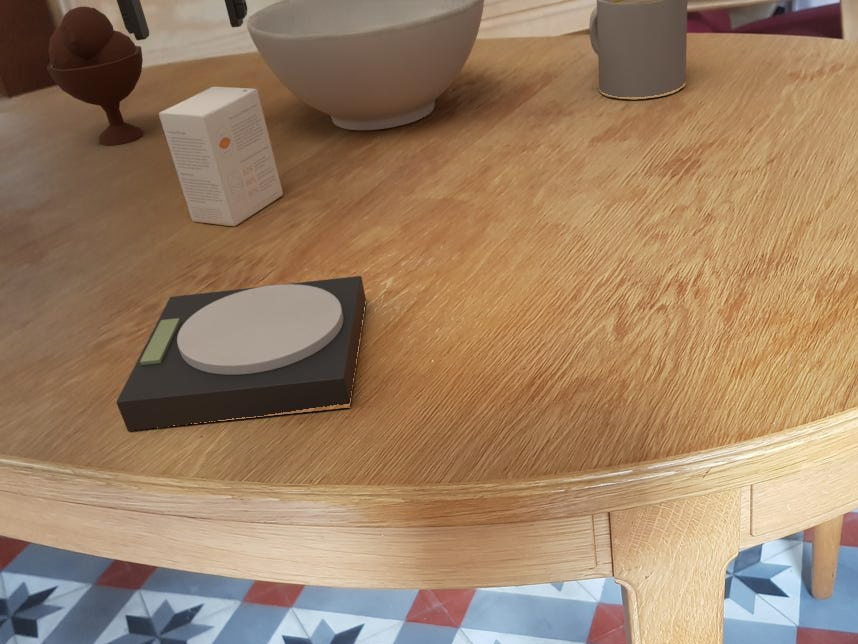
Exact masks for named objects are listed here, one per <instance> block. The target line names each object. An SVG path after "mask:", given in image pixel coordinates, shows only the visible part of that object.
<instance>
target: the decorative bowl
mask: <svg viewBox="0 0 858 644" xmlns="http://www.w3.org/2000/svg"><path fill="white" fill-rule="evenodd" d="M484 7H485V0H280V1H277V2H274V3H272V4H269V5H267V6H264V7H263V8H261V9H260V10H257V11H256V12H254V13H253V14H252V15H251V16H250V17H249V18H248V20H247V21H246V28H247V31H248V34H249V36H250V38H251V40H252V43H253V44H254V46H255V47H256V49H257V51H258V53H259V55H260V56H261V58H262V59H263V61H264V63H265V64H266V65H267V67H268V68H269V69H270V70H271V72H272V73H273V74H274V75H275V77H276V78H277V79H278V80H279V81H280V82H281V83H282V85H283V86H285V87H286V89H287V90H288V91H290V93H292V94H293V95H294V96H296V98H298V99H299V100H300V101H302V102H303V103H305V104H306V105H308V106H310V107H311V108H313V109H315V110H317V111H319V112H322V113H324V114H326V115H329V116H330V118H331V121H332V123H333V125H335V126H336V127H338V128H341V129H343V130H344V129H345V130H349V131H377V130H386V129H392V128H397V127H401V126H404V125H408V124H411V123H414V122H417V121H419V120H421V119H423V117H424V118H426V117H427V116H428V115H430V114H431V113H432V112H433V111H434V109H435V100H436V99H438V97H439V96H441V95H442V94H444V92H445V91H446V90H447V89H448V88H449V87H450V86H451V85H452V84H453V83H454V82H455V80H456V79H457V78H458V77H459V75H460V73H461V72H462V71H463V68H464V67H465V65H466V63H467V61H468V59H469V57H470V55H471V53H472V50H473V48H474V46H475V43H476V40H477V38H478V35H479V30H480V27H481V23H482V18H483V13H484Z"/></svg>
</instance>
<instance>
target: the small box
mask: <svg viewBox="0 0 858 644" xmlns="http://www.w3.org/2000/svg"><path fill="white" fill-rule="evenodd" d="M158 116H159V120H160V123H161V126H162V129H163V133H164V135H165V140H166V142H167V146H168V149H169V152H170V154H171V158H172V161H173V164H174V168H175V171H176V175H177V177H178V180H179V183H180V187H181V191H182V193H183V196H184V200H185V203H186V205H187V209H188V212H189V215H190V219H191V221H192V222H194V223H203V224H209V225H210V224H211V225H218V226H225V227H226V226H227V227H237V226H238V225H240V224H241V223H243V222H245V221H246V220H247V219H249V218H251V217H252V216H253V215H255V214H256V213H258V212H259V211H261V210H262V209H264V208H266V207H267V206H269V205H270V204H272V203H274V202H275V201H276V200H279V199H280V197H282V196H283V195H284V193H283V187H282V184H281V180H280V175H279V172H278V167H277V163H276V159H275V155H274V152H273V151H274V150H273V148H272V142H271V138H270V134H269V131H268V126H267V123H266V118H265V115H264V111H263V107H262V102H261V98H260V93H259V90H258V89H257V88H247V87H232V86H231V87H230V86H229V87H228V86H211V87H209V88H207V89H205V90H203V91H201V92H198V93H197V94H195V95H192V96H191V97H189V98H187V99H184V100H183V101H180V102H179V103H176V104H174V105H172V106H170V107H168V108H166V109H164V110H162V111H159V113H158Z"/></svg>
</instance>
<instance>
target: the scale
mask: <svg viewBox="0 0 858 644" xmlns="http://www.w3.org/2000/svg"><path fill="white" fill-rule="evenodd" d="M364 287H365V286H364V282H363V278H362V275H356V276H347V277H346V276H345V277H337V278H330V279H319V280H310V281H302V282H300V281H299V282H293V283H283V284H271V285H266V286H265V285H264V286H257V287H248V288H247V287H246V288H237V289H230V290H219V291H212V292H210V291H209V292H203V293H193V294H184V295H183V294H182V295H175V296H170V297H169V298H168V300H167V303H166V304H165V306H164V308H163V310H162V312H161V314H160V316H159V318H158V320H157V322H156V324H155V326H154V327H153V330H152V332H151V333H150V335H149V337H148V339H147V341H146V342H145V345H144V347H143V349H142V351H141V353H140V354H139V357H138V359H137V360H136V362H135V365H134V366H133V368H132V370H131V372H130V375H129V376H128V378H127V380H126V382H125V384H124V386H123V388H122V389H121V391H120V393H119V396H118V397H117V400H116V402H115V403H116V405H117V408H118V410H119V412H120V415H121V418H122V420H123V423H124V425H125V427H126V430H127V432H136V431H135V430H138V431H146V430H145V429H148V430H153V429H152V428H157V427H158V429H161V428H160V427H167V428H169V427H168V426H173V425H175V426H177V427H179V426H178V425H186V424H191V423H192V424H194V423H200V422H201V423H204V422H209V421H210V422H211V421H218V420H226V419H232V418H234V419H236V418H242V417H245V418H246V417H254V416H256V417H257V416H264V415H268V414H275V413H277V414H278V413H281V412H282V413H283V412H291V411H296V410H303V409H309V408H316V407H323V406H325V407H327V406H330V405H332V406H333V405H337V404H339V405H343V404H349V403H350V398H351V391H352V385H353V378H354V373H355V368H356V359H357V352H358V346H359V339H360V333H361V327H362V320H363V314H364V307H365V301H366V302H367V297H366V293H365V289H364ZM186 426H187V425H186ZM150 428H151V429H150ZM142 429H143V430H142Z"/></svg>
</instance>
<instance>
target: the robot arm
mask: <svg viewBox="0 0 858 644" xmlns="http://www.w3.org/2000/svg"><path fill="white" fill-rule="evenodd" d="M116 3H117V6H118V9H119V13H120V15H121V18H122V21H123V25H124V28H125V29H126V31H127V32H128V34H129V35H132V34H133V36H134V39H135V40H136V41H145V40H146V39H148V38H149V36H150V29H149V26H148V23H147V19H146V16H145V13H144V10H143V7H142V3H141V0H116ZM247 4H248V3H247V1H246V0H224V5H225V7H226V13H227V16H228V20H229V24H230V27H231V28H232V29H233V28H239V27H242V25H243V24H244V19H245V18H246V17H247V15H248V5H247Z"/></svg>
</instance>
